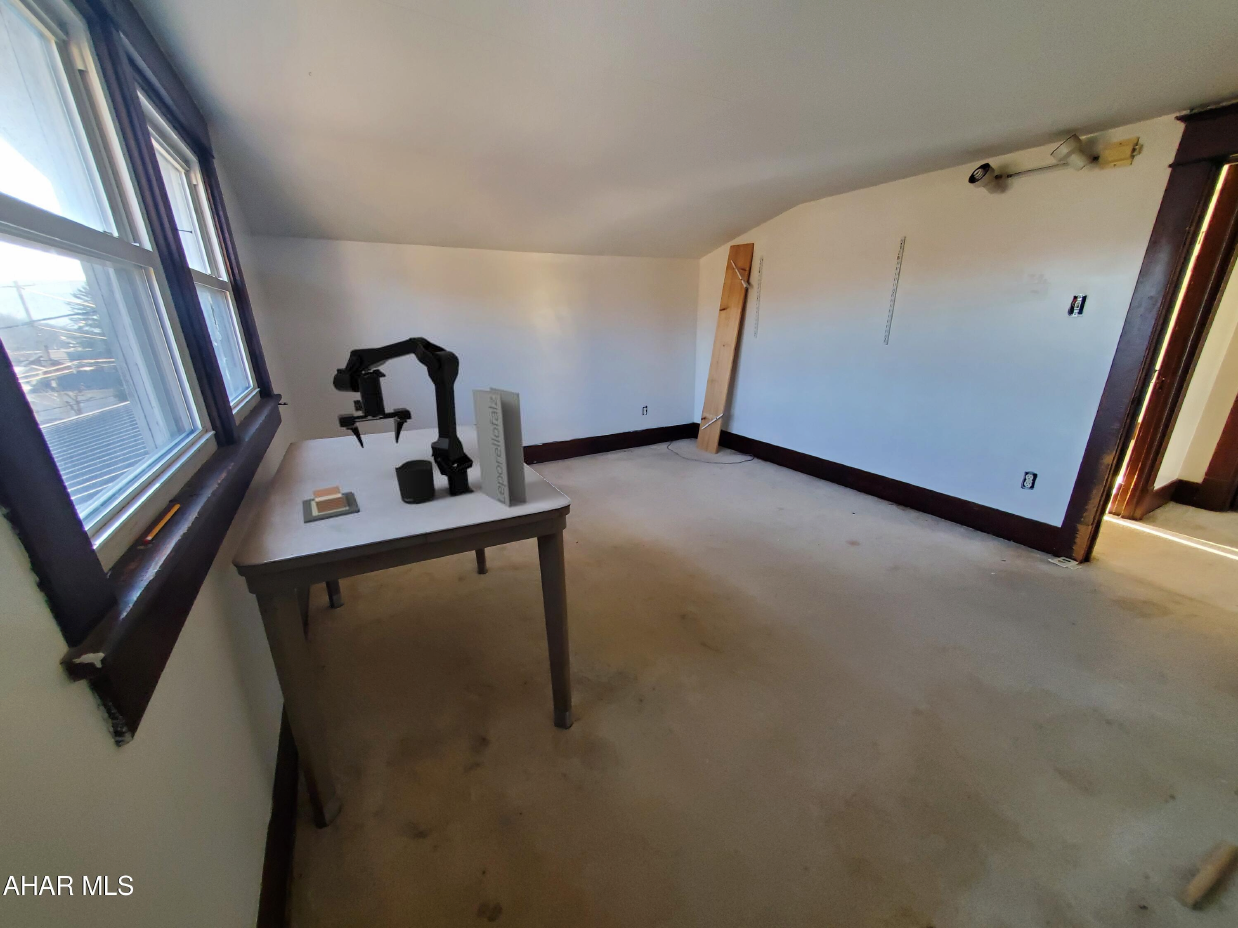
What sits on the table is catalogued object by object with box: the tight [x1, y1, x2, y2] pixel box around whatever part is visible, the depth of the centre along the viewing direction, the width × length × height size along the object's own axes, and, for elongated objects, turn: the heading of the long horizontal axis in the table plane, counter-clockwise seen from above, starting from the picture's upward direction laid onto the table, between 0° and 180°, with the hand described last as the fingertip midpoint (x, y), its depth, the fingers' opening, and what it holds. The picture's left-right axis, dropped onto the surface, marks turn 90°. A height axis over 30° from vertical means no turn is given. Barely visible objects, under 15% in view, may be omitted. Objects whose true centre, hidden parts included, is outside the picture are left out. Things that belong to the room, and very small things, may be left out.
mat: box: [301, 491, 360, 524], centre depth 123 cm, size 16×12×1 cm
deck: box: [312, 485, 345, 513], centre depth 122 cm, size 10×6×3 cm, turn 36°
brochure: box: [472, 386, 527, 508], centre depth 125 cm, size 14×6×30 cm, turn 45°
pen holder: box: [394, 459, 436, 505], centre depth 127 cm, size 9×9×10 cm
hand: (380, 445), depth 137 cm, fingers open, 9 cm apart
